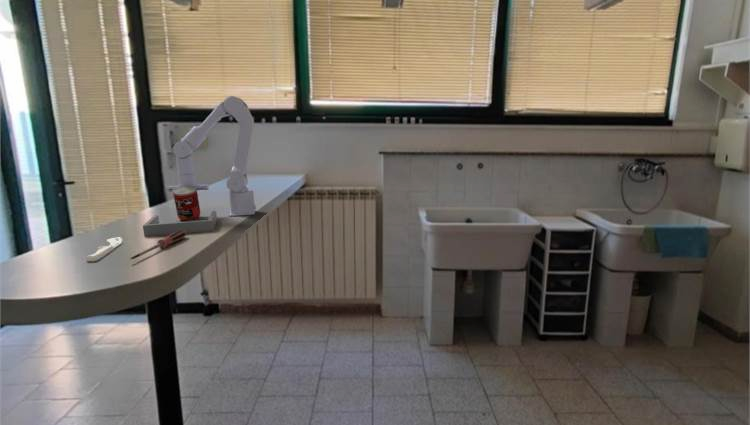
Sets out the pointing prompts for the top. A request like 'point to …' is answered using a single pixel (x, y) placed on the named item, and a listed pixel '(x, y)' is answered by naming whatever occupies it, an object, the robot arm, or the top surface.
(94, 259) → the white elongated piece
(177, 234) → the screwdriver
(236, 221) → the top surface
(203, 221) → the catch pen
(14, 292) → the top surface
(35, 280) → the top surface
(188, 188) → the canned food
